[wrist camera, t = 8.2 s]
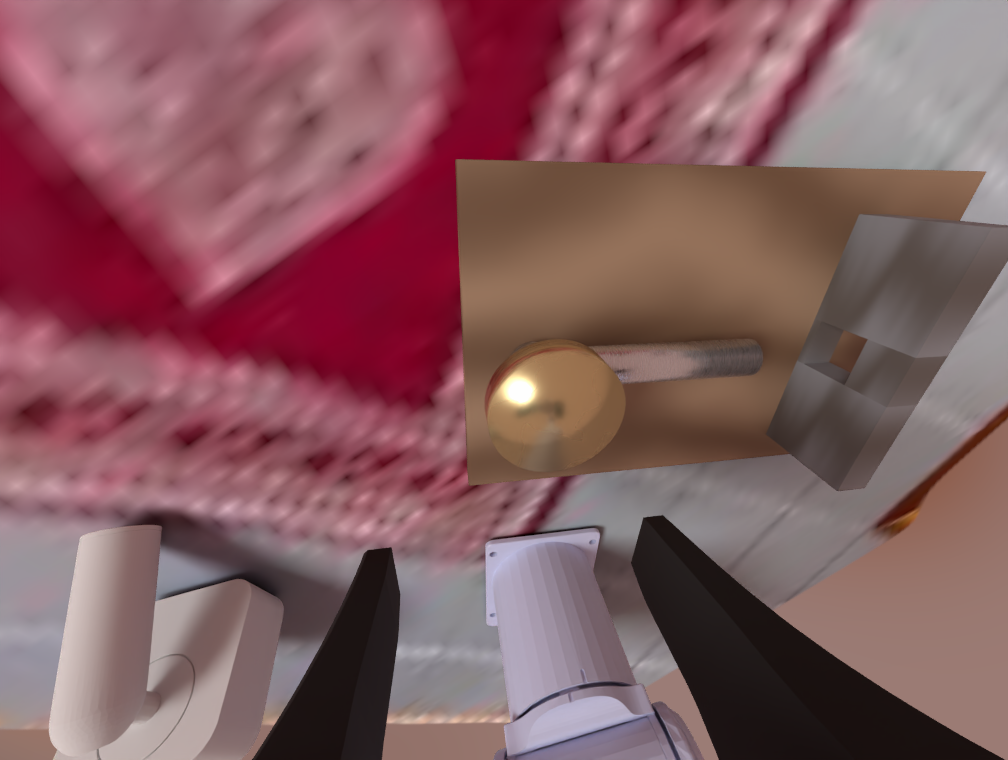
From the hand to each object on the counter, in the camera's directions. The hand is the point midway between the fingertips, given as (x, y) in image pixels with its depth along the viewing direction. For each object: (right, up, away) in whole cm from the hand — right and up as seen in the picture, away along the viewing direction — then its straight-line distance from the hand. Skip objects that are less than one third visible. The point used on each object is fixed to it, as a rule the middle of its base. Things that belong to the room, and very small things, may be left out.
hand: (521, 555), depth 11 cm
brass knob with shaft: (+5, +6, +7) cm, 11 cm away
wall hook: (-20, -7, +12) cm, 24 cm away
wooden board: (+9, +7, +10) cm, 15 cm away
